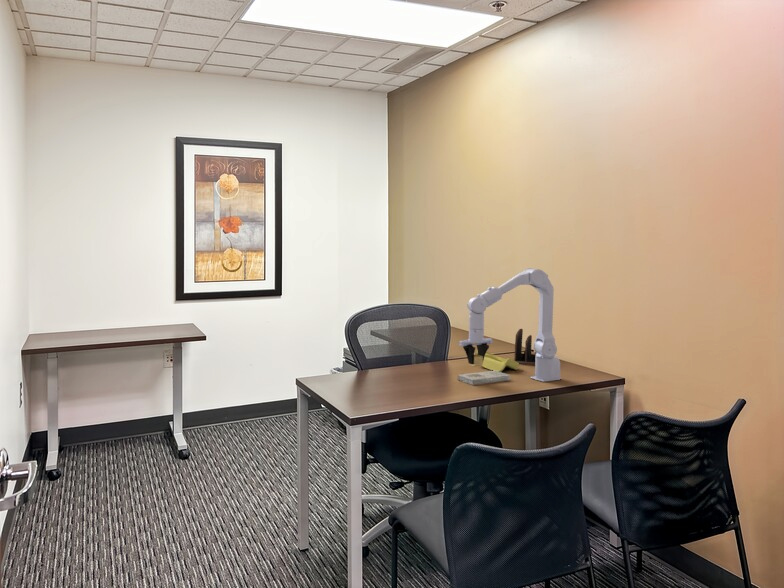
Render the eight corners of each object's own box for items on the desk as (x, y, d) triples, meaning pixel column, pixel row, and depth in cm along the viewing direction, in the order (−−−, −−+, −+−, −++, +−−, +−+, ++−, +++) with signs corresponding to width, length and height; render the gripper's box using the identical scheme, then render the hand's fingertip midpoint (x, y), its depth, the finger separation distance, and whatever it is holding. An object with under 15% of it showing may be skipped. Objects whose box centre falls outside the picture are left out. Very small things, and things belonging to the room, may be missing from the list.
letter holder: (514, 363, 277) (514, 332, 276) (520, 355, 296) (520, 326, 294) (536, 365, 274) (537, 333, 272) (541, 357, 292) (542, 327, 291)
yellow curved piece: (521, 364, 263) (507, 356, 257) (515, 380, 262) (500, 373, 256) (490, 353, 279) (475, 346, 273) (483, 369, 278) (468, 361, 273)
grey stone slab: (494, 375, 252) (494, 370, 252) (510, 380, 243) (510, 375, 243) (457, 379, 244) (457, 374, 243) (472, 385, 235) (472, 379, 235)
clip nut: (476, 363, 244) (476, 352, 243) (482, 365, 240) (482, 354, 240) (468, 364, 242) (468, 353, 242) (474, 366, 238) (474, 354, 238)
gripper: (485, 326, 247) (484, 359, 248) (454, 328, 240) (454, 363, 241) (496, 328, 240) (495, 363, 242) (465, 330, 234) (464, 366, 235)
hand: (475, 363), depth 241 cm, fingers closed on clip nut, 4 cm apart
